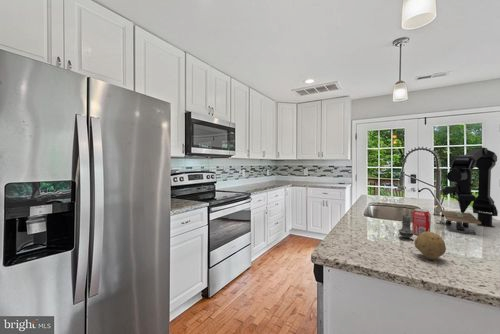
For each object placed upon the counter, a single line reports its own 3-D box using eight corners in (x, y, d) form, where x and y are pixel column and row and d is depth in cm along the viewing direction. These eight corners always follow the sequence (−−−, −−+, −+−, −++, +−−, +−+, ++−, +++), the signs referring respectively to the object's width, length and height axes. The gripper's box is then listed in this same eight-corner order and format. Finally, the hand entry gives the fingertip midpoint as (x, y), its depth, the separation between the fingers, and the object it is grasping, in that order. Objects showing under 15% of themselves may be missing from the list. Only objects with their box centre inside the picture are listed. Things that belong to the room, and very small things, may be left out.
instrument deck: (441, 212, 132) (441, 207, 132) (470, 214, 125) (470, 210, 125) (447, 220, 114) (447, 215, 114) (480, 224, 107) (481, 219, 107)
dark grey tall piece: (416, 241, 100) (417, 214, 100) (401, 240, 102) (402, 214, 101) (410, 237, 106) (410, 211, 106) (396, 236, 107) (396, 211, 107)
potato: (408, 255, 86) (409, 229, 86) (422, 252, 89) (423, 226, 89) (436, 266, 78) (437, 237, 77) (450, 261, 81) (451, 233, 81)
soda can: (423, 232, 114) (424, 208, 113) (433, 237, 107) (434, 211, 106) (408, 232, 114) (409, 208, 114) (417, 236, 107) (418, 211, 107)
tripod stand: (444, 223, 129) (444, 214, 129) (468, 226, 124) (468, 216, 123) (448, 231, 116) (449, 220, 116) (475, 234, 110) (476, 223, 110)
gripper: (440, 179, 125) (439, 207, 126) (445, 182, 110) (444, 214, 110) (467, 180, 119) (466, 209, 119) (477, 183, 104) (475, 217, 104)
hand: (462, 212), depth 114 cm, fingers closed
